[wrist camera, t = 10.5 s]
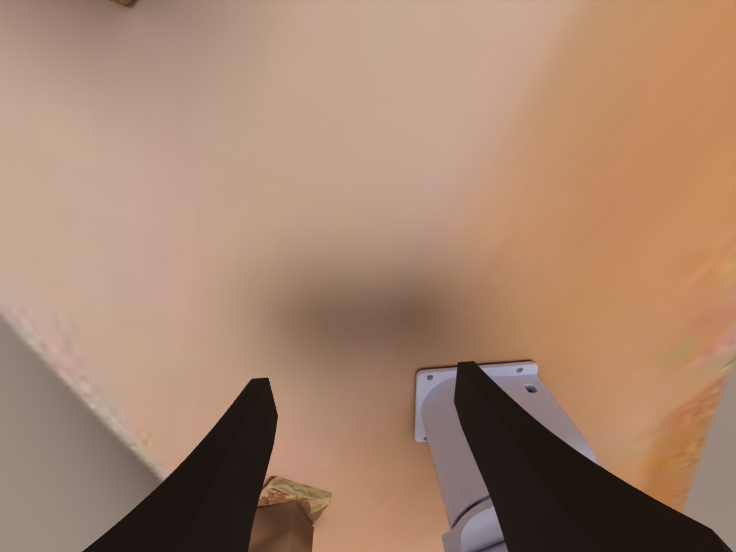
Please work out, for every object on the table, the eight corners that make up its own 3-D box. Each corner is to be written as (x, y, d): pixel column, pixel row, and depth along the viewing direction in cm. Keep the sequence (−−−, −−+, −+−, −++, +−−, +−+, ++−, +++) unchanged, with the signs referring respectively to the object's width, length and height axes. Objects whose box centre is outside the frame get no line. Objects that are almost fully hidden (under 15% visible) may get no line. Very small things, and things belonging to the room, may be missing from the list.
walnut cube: (296, 500, 29) (286, 569, 24) (313, 527, 31) (308, 595, 26) (245, 511, 29) (226, 582, 24) (265, 537, 31) (252, 607, 27)
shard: (285, 538, 35) (282, 558, 33) (219, 521, 33) (212, 542, 31) (334, 486, 31) (334, 506, 29) (263, 463, 29) (258, 484, 27)
